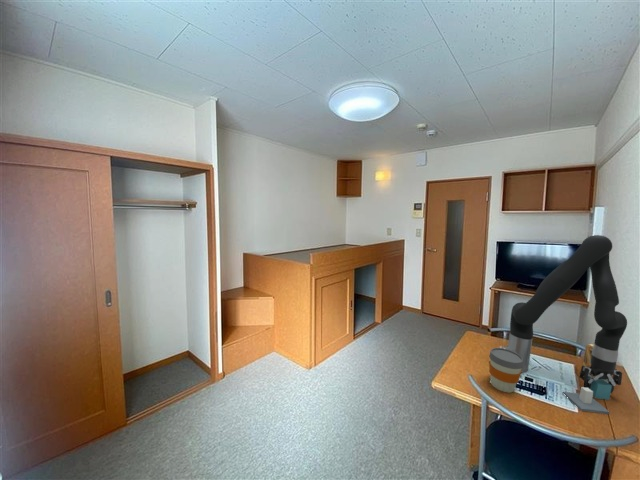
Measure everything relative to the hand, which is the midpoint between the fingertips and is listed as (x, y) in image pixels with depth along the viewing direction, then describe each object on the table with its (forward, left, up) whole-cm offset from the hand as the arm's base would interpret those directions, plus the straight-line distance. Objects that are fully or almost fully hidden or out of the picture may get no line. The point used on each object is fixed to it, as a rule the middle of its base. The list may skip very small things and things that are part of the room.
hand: (597, 390), depth 118 cm
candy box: (+9, +13, -2) cm, 16 cm away
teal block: (0, 0, -2) cm, 2 cm away
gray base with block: (-10, -7, -2) cm, 12 cm away
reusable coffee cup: (-39, -1, -2) cm, 39 cm away
